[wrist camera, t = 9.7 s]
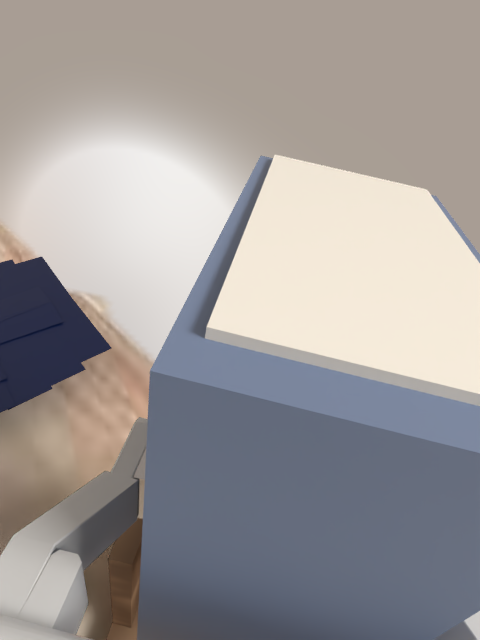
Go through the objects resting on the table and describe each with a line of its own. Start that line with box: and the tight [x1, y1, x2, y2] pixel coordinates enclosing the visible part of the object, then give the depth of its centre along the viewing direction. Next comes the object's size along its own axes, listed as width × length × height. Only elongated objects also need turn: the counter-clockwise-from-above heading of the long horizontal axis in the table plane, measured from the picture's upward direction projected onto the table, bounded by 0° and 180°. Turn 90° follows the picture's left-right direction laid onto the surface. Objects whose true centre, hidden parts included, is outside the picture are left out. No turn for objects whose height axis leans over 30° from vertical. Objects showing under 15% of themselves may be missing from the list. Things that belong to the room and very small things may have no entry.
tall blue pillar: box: [137, 155, 480, 640], centre depth 11 cm, size 4×8×15 cm, turn 170°
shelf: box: [106, 518, 143, 640], centre depth 22 cm, size 11×12×12 cm
